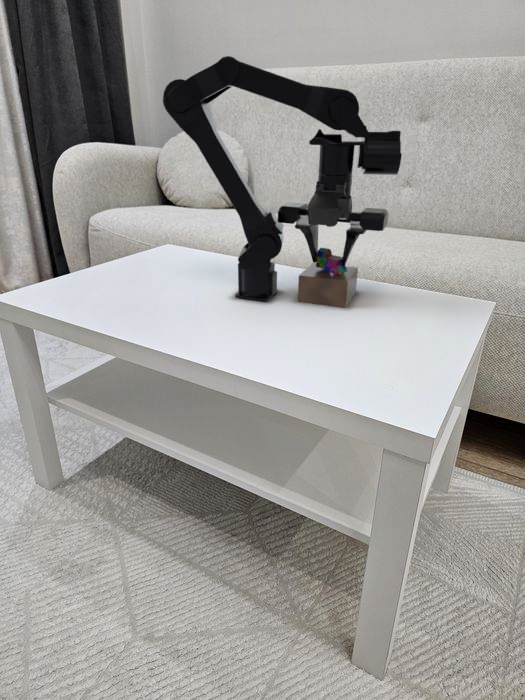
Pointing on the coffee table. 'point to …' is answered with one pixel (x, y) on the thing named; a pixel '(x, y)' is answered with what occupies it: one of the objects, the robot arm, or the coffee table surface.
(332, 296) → the walnut block
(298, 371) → the coffee table surface
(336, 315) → the coffee table surface
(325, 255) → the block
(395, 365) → the coffee table surface
